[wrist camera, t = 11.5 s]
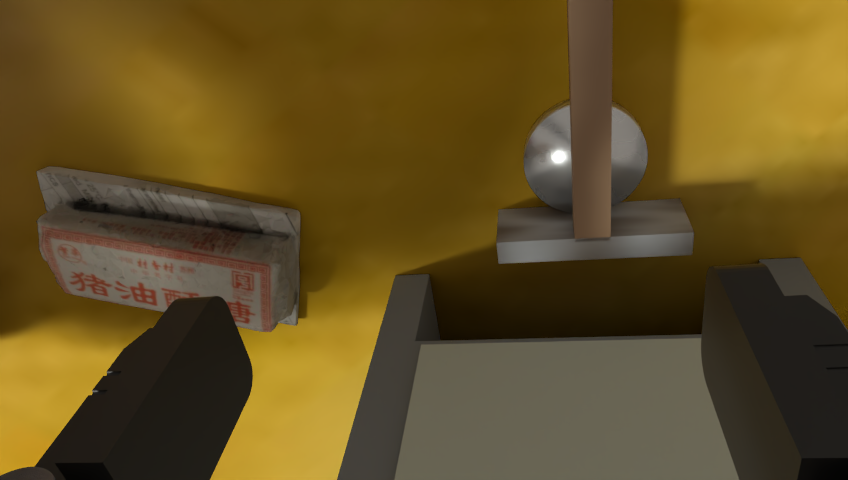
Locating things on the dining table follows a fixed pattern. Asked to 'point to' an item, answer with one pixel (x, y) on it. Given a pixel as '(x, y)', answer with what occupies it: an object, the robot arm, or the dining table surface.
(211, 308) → the robot arm
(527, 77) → the dining table surface
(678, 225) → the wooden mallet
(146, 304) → the packaged product
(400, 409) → the slate cabinet
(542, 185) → the steel token
